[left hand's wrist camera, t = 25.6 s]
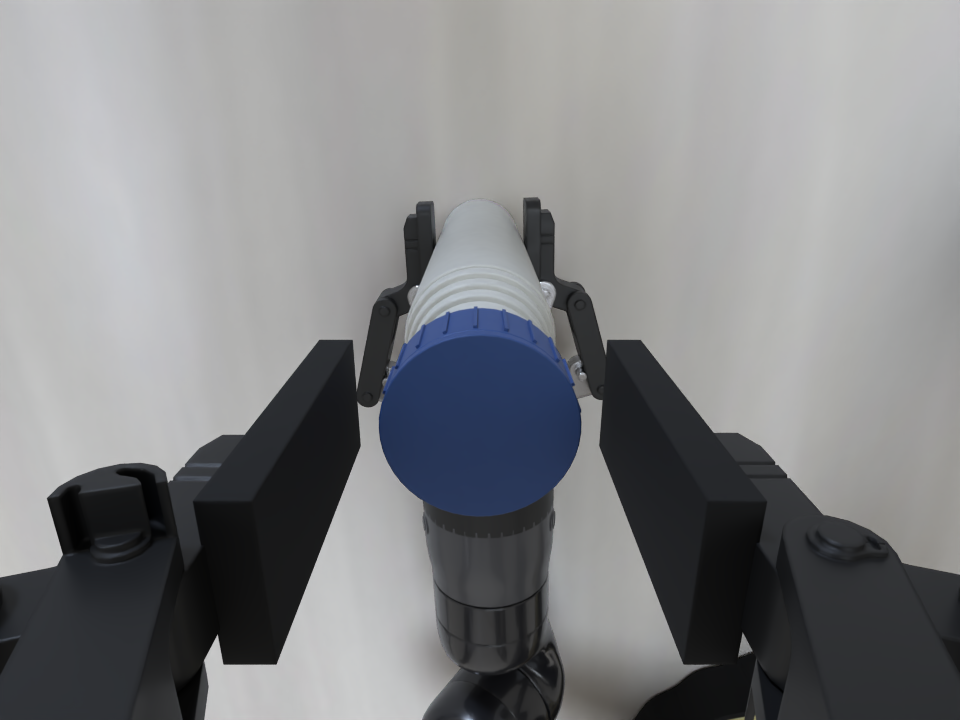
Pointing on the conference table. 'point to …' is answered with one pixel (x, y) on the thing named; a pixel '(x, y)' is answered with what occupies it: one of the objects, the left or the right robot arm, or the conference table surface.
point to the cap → (480, 413)
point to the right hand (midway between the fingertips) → (478, 202)
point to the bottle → (480, 270)
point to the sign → (706, 695)
